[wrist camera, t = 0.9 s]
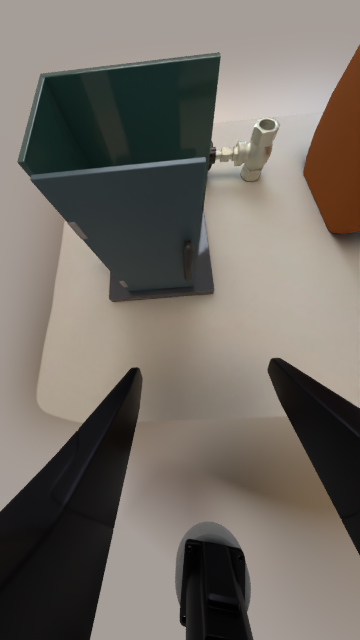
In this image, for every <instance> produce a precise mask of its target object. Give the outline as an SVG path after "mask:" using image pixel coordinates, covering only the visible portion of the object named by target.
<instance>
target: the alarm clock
mask: <svg viewBox="0 0 360 640" xmlns="http://www.w3.org/2000/svg"><path fill="white" fill-rule="evenodd" d="M304 176H305V179H306V181H307V183H308V185H309V188H310V190H311V192H312V194H313V197H314V199H315V201H316V203H317V206H318V208H319V210H320V212H321V215H322V217H323V219H324V222H325V224H326V226H327V228H328V230H329V231H330V232H333V233H341V234H347V233H355V232H360V45H359V47H358V49H357V50H356V52H355V54H354V56H353V57H352V59H351V61H350V63H349V65H348V66H347V68H346V70H345V72H344V74H343V76H342V77H341V79H340V81H339V82H338V84H337V86H336V88H335V90H334V91H333V93H332V95H331V97H330V99H329V102H328V104H327V106H326V109H325V111H324V113H323V115H322V117H321V119H320V122H319V124H318V126H317V128H316V131H315V133H314V136H313V139H312V142H311V145H310V148H309V151H308V154H307V157H306V162H305V167H304Z"/></svg>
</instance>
